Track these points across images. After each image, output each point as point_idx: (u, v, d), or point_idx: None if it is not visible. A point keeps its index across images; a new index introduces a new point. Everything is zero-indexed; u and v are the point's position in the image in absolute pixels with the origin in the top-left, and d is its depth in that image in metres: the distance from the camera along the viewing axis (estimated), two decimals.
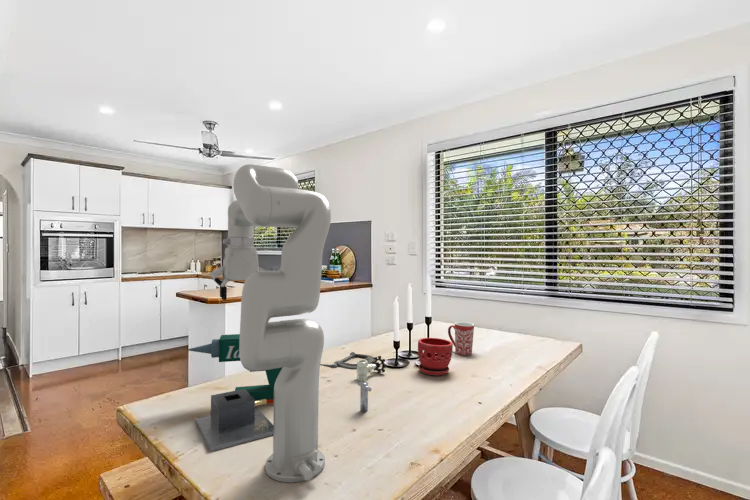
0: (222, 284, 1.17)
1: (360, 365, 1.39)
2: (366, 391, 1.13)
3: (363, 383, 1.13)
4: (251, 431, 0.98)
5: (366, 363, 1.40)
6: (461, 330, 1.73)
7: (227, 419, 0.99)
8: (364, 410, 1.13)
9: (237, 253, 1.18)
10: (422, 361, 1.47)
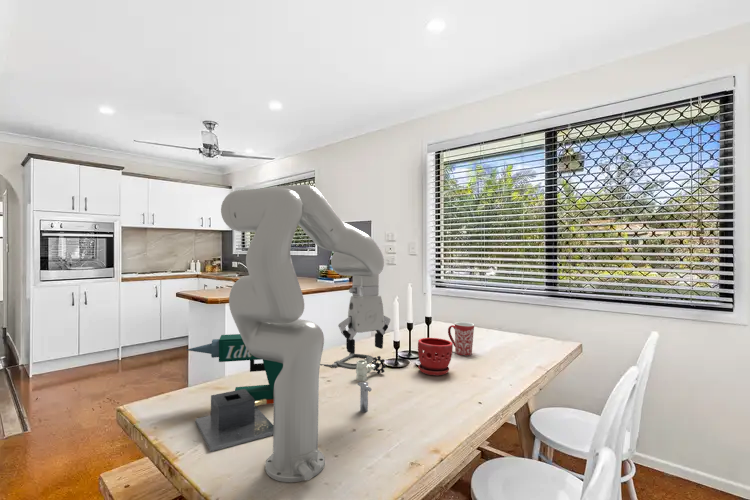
0: (350, 337, 1.09)
1: (359, 365, 1.39)
2: (366, 391, 1.13)
3: (363, 383, 1.13)
4: (251, 431, 0.98)
5: (365, 363, 1.39)
6: (461, 330, 1.73)
7: (227, 419, 0.99)
8: (364, 410, 1.13)
9: (365, 303, 1.10)
10: (422, 361, 1.47)
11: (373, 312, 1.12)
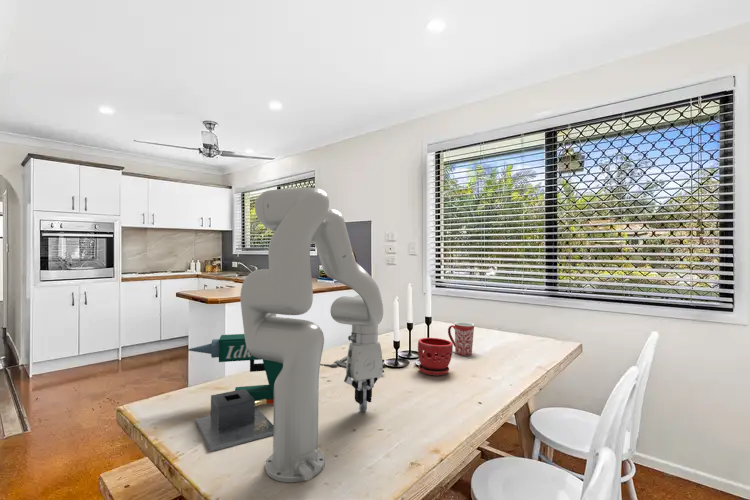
0: (359, 388, 1.11)
1: None
2: (365, 390, 1.12)
3: (362, 382, 1.13)
4: (251, 431, 0.98)
5: None
6: (461, 330, 1.73)
7: (227, 419, 0.99)
8: (363, 409, 1.12)
9: (364, 351, 1.10)
10: (422, 361, 1.47)
11: (372, 360, 1.11)
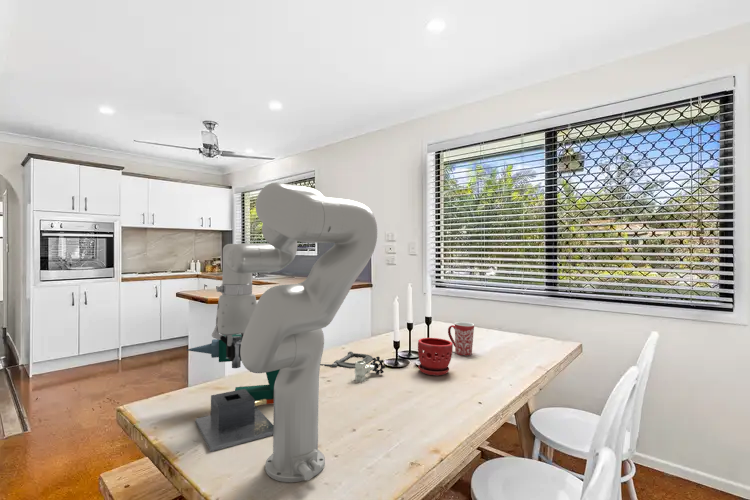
0: (229, 343, 1.02)
1: (358, 366, 1.38)
2: (237, 345, 1.04)
3: (235, 337, 1.04)
4: (251, 431, 0.98)
5: (364, 364, 1.39)
6: (461, 330, 1.73)
7: (227, 419, 0.99)
8: (235, 366, 1.04)
9: (232, 303, 1.01)
10: (422, 361, 1.47)
11: (243, 313, 1.02)
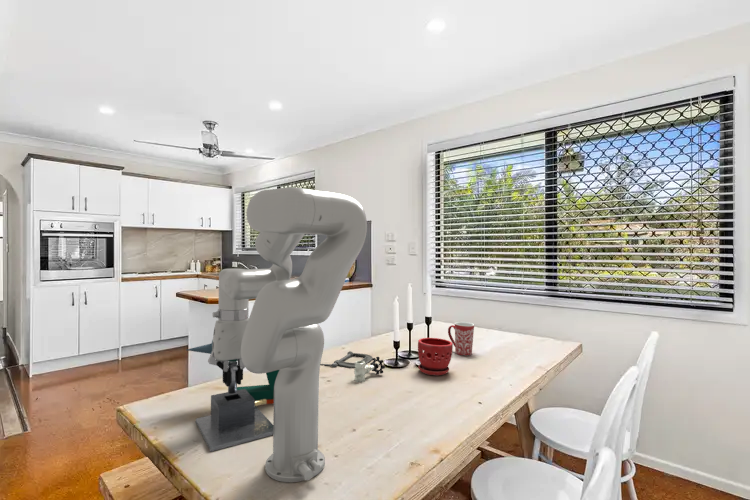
0: (225, 368, 1.02)
1: (357, 366, 1.38)
2: (234, 371, 1.03)
3: (231, 362, 1.04)
4: (251, 431, 0.98)
5: (364, 364, 1.39)
6: (461, 330, 1.73)
7: (227, 419, 0.99)
8: (231, 391, 1.03)
9: (229, 329, 1.01)
10: (422, 361, 1.47)
11: (239, 338, 1.02)
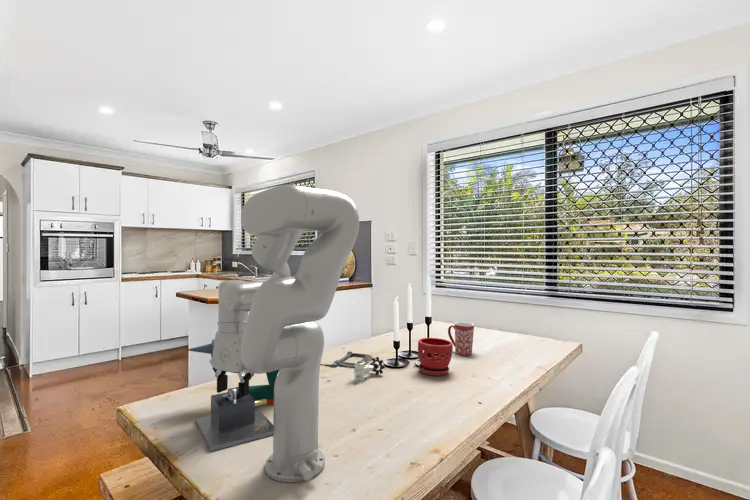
0: (216, 374, 1.05)
1: (357, 366, 1.38)
2: (229, 398, 1.03)
3: (230, 389, 1.05)
4: (251, 431, 0.98)
5: (363, 364, 1.38)
6: (461, 330, 1.73)
7: (227, 419, 0.99)
8: None
9: (220, 339, 1.02)
10: (422, 361, 1.47)
11: (227, 351, 1.01)
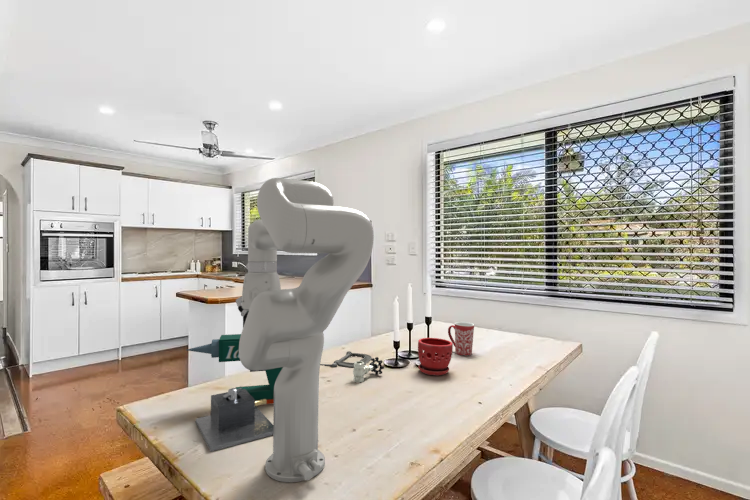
0: (242, 313, 1.07)
1: (356, 366, 1.37)
2: (229, 398, 1.03)
3: (231, 389, 1.04)
4: (251, 431, 0.98)
5: (362, 364, 1.38)
6: (461, 330, 1.73)
7: (227, 419, 0.99)
8: None
9: (250, 280, 1.04)
10: (422, 361, 1.47)
11: (258, 291, 1.03)
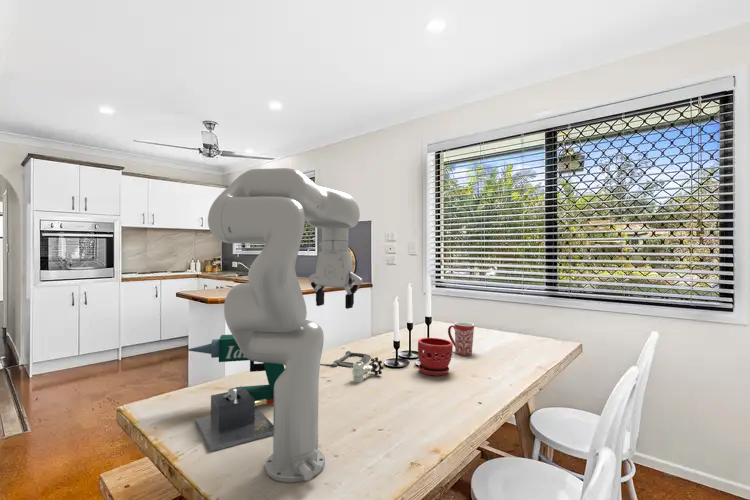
0: (315, 289, 1.13)
1: (356, 367, 1.37)
2: (229, 398, 1.03)
3: (231, 389, 1.04)
4: (251, 431, 0.98)
5: (362, 365, 1.38)
6: (461, 330, 1.73)
7: (227, 419, 0.99)
8: None
9: (324, 257, 1.10)
10: (422, 361, 1.47)
11: (332, 267, 1.09)
